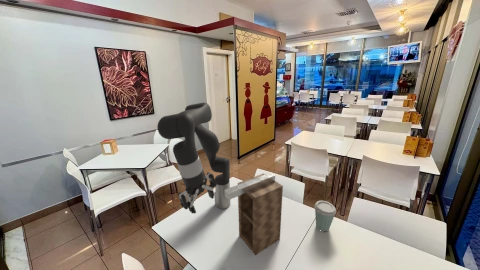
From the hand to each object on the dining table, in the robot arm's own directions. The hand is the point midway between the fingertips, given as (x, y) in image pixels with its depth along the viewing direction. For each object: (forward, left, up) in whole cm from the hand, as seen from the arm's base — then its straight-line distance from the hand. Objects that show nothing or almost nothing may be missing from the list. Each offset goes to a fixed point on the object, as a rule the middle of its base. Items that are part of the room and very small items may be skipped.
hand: (203, 204), depth 73 cm
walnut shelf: (+12, +27, -36) cm, 47 cm away
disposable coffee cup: (+41, +48, -36) cm, 73 cm away
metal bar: (+10, +23, -4) cm, 25 cm away
